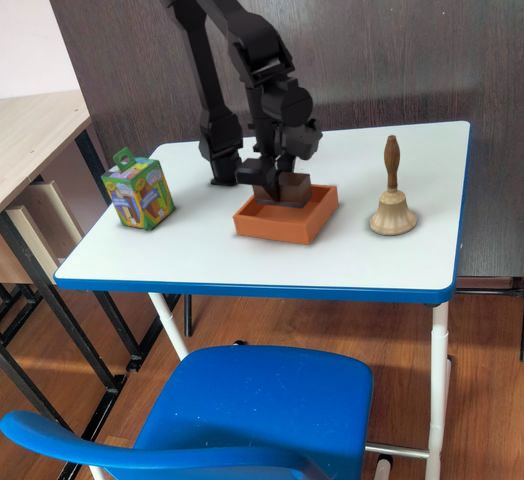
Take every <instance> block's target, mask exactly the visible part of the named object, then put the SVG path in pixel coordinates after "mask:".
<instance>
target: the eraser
mask: <svg viewBox="0 0 524 480" xmlns="http://www.w3.org/2000/svg"><path fill="white" fill-rule="evenodd" d="M311 184H312V181H311V174H310V173H306V172H305V173H303V172H294V173H292V172H282V173H281V175H280V176H279V188H280V202H274V201H273V199H272V198H271V197H270V196H269V195H268V193H267V192H266V191H265V190H264V189H263V187H262V186H256V185H251V188H252V192H253V194H254V197H255V201H256V204H265V205H274V206H283V207H292V208H301V209H302V208H303V207H304V206H305V205H306V204H307V202H308V201H309V200H310V199H311V197H312V196H313V194H312V186H311Z"/></svg>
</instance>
